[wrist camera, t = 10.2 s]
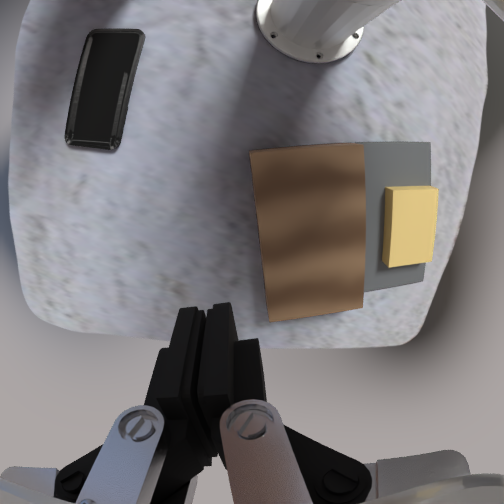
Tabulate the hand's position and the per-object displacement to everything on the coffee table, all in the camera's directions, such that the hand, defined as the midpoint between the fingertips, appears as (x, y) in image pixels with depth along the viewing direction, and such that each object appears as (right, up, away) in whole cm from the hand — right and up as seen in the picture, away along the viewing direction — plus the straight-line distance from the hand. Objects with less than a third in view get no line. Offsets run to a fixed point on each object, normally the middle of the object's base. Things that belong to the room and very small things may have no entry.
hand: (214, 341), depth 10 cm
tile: (+22, +6, +25) cm, 34 cm away
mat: (+20, +7, +27) cm, 35 cm away
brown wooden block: (+8, +6, +27) cm, 29 cm away
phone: (-16, +23, +20) cm, 34 cm away
